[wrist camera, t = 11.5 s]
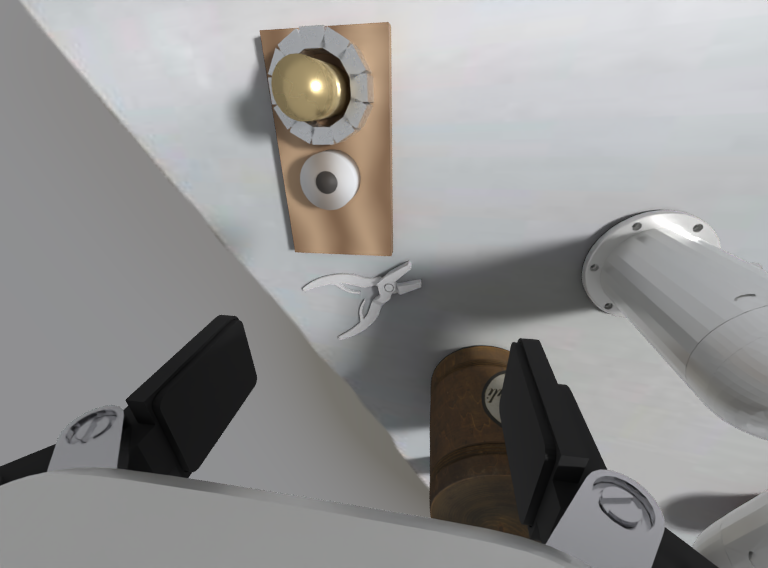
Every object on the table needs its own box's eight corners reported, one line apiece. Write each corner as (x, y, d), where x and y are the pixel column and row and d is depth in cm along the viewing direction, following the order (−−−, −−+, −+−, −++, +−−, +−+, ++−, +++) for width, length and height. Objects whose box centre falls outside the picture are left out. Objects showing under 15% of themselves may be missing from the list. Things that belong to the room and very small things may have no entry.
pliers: (298, 290, 43) (396, 241, 38) (303, 284, 45) (397, 237, 39) (339, 344, 47) (434, 307, 41) (342, 338, 48) (434, 300, 43)
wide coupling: (371, 30, 29) (364, 22, 26) (375, 141, 33) (369, 144, 30) (275, 36, 30) (260, 29, 27) (291, 142, 34) (278, 145, 32)
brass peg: (349, 62, 30) (323, 50, 23) (354, 116, 32) (331, 120, 25) (304, 66, 31) (265, 55, 24) (312, 118, 33) (278, 123, 26)
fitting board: (390, 25, 29) (382, 12, 25) (392, 251, 40) (387, 267, 36) (267, 33, 31) (241, 22, 27) (299, 247, 42) (284, 262, 37)
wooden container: (556, 396, 46) (637, 597, 27) (468, 431, 53) (484, 616, 33) (498, 326, 43) (545, 504, 23) (410, 373, 49) (391, 544, 30)
